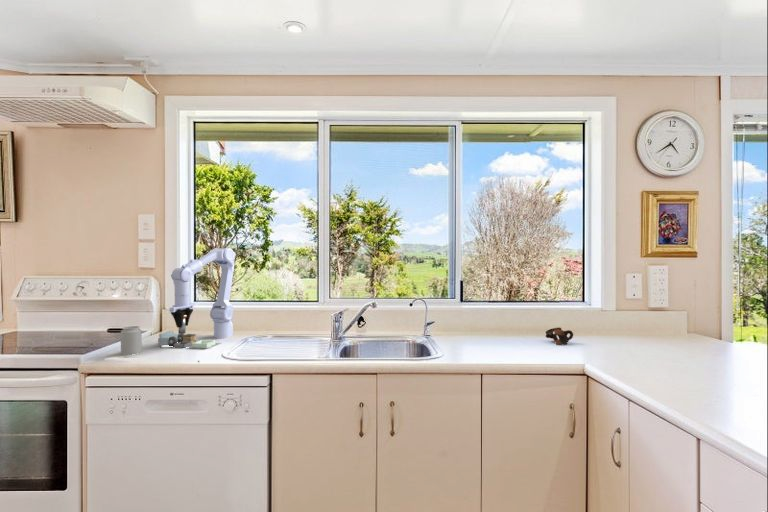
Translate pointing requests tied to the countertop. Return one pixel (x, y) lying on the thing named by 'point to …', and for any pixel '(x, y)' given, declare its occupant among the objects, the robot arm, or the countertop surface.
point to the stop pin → (183, 326)
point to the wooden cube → (189, 338)
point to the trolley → (169, 338)
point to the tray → (204, 344)
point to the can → (131, 340)
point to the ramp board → (186, 345)
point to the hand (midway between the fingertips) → (182, 326)
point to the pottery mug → (559, 335)
